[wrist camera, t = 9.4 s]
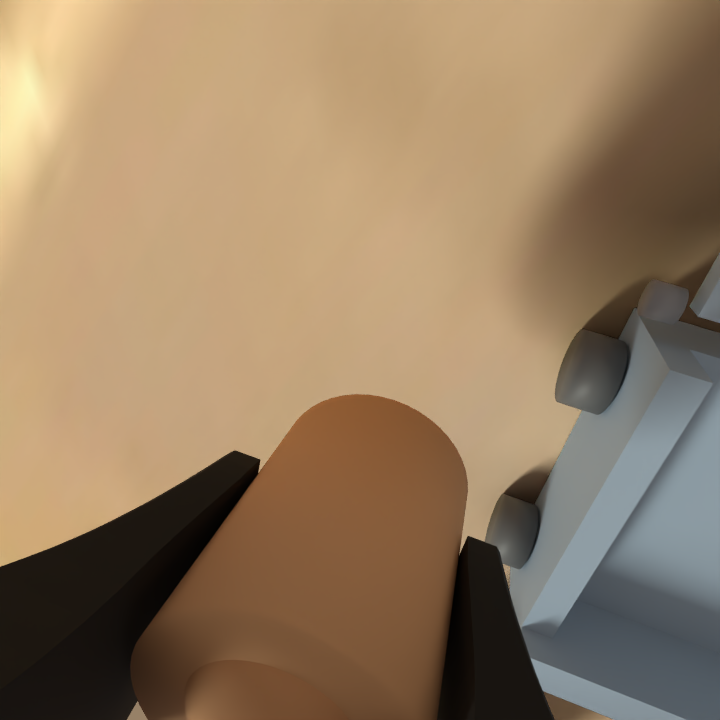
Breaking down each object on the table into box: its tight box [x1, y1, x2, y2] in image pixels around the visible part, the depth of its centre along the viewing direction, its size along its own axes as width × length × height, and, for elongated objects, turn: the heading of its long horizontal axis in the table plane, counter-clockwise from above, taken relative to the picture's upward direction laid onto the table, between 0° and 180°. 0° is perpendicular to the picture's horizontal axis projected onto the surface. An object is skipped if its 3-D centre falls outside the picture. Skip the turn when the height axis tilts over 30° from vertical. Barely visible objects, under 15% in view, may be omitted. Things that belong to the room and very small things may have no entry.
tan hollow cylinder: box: [130, 394, 468, 720], centre depth 10 cm, size 5×5×7 cm
